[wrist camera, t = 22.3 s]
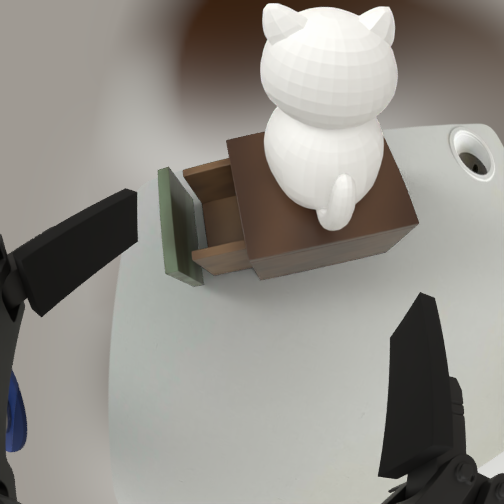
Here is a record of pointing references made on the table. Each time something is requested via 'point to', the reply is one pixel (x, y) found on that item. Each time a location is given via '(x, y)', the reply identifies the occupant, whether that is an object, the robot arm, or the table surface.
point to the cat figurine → (327, 104)
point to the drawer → (215, 218)
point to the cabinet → (312, 216)
